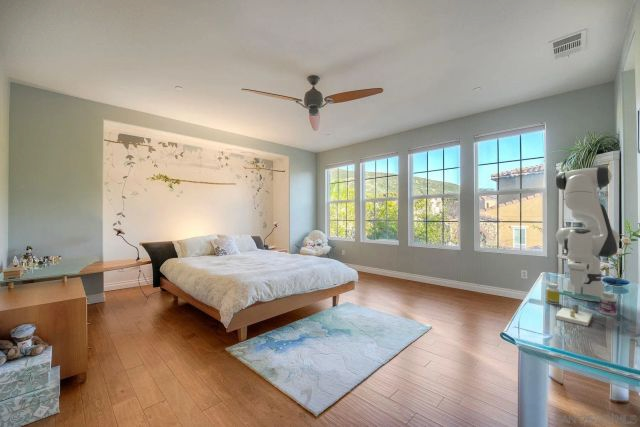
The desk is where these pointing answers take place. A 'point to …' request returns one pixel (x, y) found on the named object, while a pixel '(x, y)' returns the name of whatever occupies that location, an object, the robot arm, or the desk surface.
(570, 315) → the post board
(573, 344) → the desk surface
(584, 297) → the teal bar
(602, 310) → the pill bottle
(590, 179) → the robot arm
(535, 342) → the desk surface
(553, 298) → the supplement bottle
